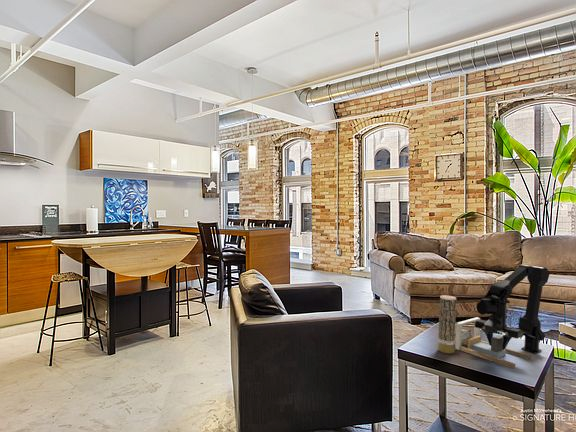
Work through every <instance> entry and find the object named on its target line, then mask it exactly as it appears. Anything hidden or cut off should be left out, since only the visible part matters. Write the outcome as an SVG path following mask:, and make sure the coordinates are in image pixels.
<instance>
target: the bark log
mask: <svg viewBox="0 0 576 432" xmlns="http://www.w3.org/2000/svg"><path fill="white" fill-rule="evenodd" d="M439 297H440V298H439V315H438V341H437V342H438V343H437V344H438V346H437V349H438V352H441V353H443V354H449V355H450V354H454V353H455V344H456V338H455V333H456V318H457V317H456V314H457V297H456V296H452V295H445V294H443V295H440V296H439Z"/></svg>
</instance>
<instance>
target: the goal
mask: <svg viewBox="0 0 576 432" xmlns="http://www.w3.org/2000/svg"><path fill="white" fill-rule="evenodd" d="M478 320H481V317H477V316H476V317H473V318H470V319H469V318H468V319H466V320H462V321H458V322H455V333H456V338H455V346H454V350H458V351H461V347H462V344H461V342H462V329H463V326H465V325H469V324H471V323H474V328H473V337H476V336H481V335H480V332H481V331H480V330H481V329H480V328H477V327H475V322H476V321H478Z"/></svg>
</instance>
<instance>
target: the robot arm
mask: <svg viewBox="0 0 576 432" xmlns="http://www.w3.org/2000/svg"><path fill="white" fill-rule="evenodd" d="M526 278H527V281H528V283H529V289H528V295H527V300H526V301H527V303H526V307H525V314H524V315H523V316H520V317H519V318H518V328H516V327H512V328H507V327H508V325H507V324H506V321H507V319H508V315H507V304H510V303H511V301H510V300H509V299H508V298H509V297H511V295H512V294H513V289H514V288H515V287H516V286H517V285H518V284H520V283H521V282H522V281H523V280H524V279H526ZM549 278H550V271H549V270H548V268H547V267H543V266H535V265H528V264H519V265H518V267H517V268H516V269H515V270H513V272H511V273H510V274H509V275H508V276H507V277H505V278H504V279H503V280H500V281H497V282H494V283H493V284H491V285H490V286H489V288H488V291H487V292H486V294H485V295H484V297H483V298H480V301H478V302H477V304H476V307H475V308H476V310H477V312H478V313H479V314H480V315H482V316H483V315H486V316H487V315H489V318H488V320H484V319H480V320H478V321H476V322H474V324H475V327H477V328H480V330H481V331H482V332H483V333H484V334H485V336H486V338H487V342H489V345H490V346H491V338H492V337H494V334H496V333H497V332H498V331H499V332H501V333H504V334H502V336H503V338H504V339H503V350H504V349H505V348H507V346H508V344H509V342H510V341H511V340H512V338H514V339H520V338H522V337H524V346H523V347H521V349H520V350H522V351H526V352H530V353H533V354H538V353H541V352H542V351H543V350H542V349H540V341H541V342H542V341H544V340H545V337H546V334H545V333H544V332H543V331H542V328H541V327H542V323H541V321H540V320H539V311H540V304H541V300H542V299H541V298H542V294H543V293H542V291H543V287H544V286H545V285H546V284H547V283H548V281H549Z"/></svg>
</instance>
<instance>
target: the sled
mask: <svg viewBox="0 0 576 432" xmlns="http://www.w3.org/2000/svg"><path fill="white" fill-rule="evenodd" d="M503 339H504V338H503V335H499V334H498V335H496V336H493V337H492V338H491V346H490V345H488V344H485V343H482V342H481V340H482V336H481V335H480V336H476V337H474V336H473V337H472V338H471V339H468V345H467V348H469V349H472V350H475V351H478V352H481V353H484V354H487V355H490V356H493V357H496V358H499V359H501V358H502V357H504V356H506V355H507V352H506V350H503Z"/></svg>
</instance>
